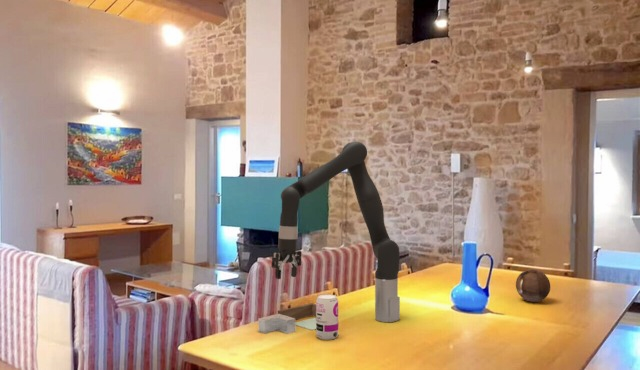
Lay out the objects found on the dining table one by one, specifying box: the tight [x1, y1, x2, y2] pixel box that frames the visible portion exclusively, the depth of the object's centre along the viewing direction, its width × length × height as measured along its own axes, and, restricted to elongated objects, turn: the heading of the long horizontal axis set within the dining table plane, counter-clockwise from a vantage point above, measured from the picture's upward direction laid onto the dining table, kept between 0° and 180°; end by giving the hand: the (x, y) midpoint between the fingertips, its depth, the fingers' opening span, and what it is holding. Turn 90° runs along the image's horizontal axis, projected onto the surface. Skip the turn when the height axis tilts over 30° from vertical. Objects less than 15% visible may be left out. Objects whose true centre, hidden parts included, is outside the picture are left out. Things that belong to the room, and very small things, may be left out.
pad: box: [295, 317, 316, 331], centre depth 214 cm, size 12×12×1 cm
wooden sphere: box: [515, 268, 551, 303], centre depth 250 cm, size 15×15×15 cm
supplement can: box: [315, 294, 339, 341], centre depth 197 cm, size 8×8×15 cm
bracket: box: [258, 313, 296, 334], centre depth 205 cm, size 10×10×5 cm
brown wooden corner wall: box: [277, 302, 316, 321], centre depth 218 cm, size 14×19×5 cm
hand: (286, 277), depth 213 cm, fingers open, 8 cm apart
